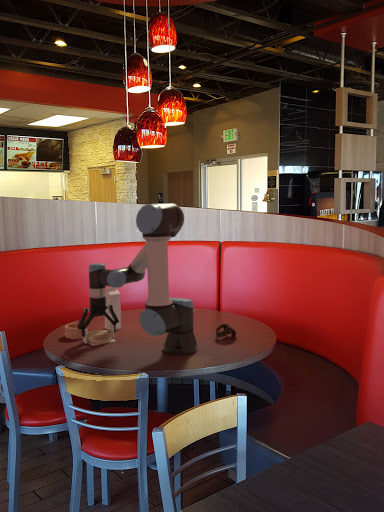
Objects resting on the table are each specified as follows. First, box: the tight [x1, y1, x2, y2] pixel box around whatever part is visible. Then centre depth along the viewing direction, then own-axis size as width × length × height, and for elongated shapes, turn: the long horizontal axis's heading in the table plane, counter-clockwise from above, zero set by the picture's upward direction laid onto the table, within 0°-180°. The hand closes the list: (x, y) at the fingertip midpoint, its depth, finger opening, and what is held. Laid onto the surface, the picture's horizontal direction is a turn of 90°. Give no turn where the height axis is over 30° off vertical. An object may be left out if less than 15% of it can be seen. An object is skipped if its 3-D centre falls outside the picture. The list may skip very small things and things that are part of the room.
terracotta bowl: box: [64, 322, 89, 340], centre depth 229 cm, size 10×10×6 cm
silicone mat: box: [81, 338, 117, 347], centre depth 222 cm, size 12×12×1 cm
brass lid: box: [87, 329, 113, 345], centre depth 222 cm, size 12×12×4 cm
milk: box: [104, 286, 122, 331], centre depth 240 cm, size 6×6×22 cm
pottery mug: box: [215, 322, 238, 340], centre depth 226 cm, size 12×10×8 cm
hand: (99, 340), depth 222 cm, fingers open, 13 cm apart
